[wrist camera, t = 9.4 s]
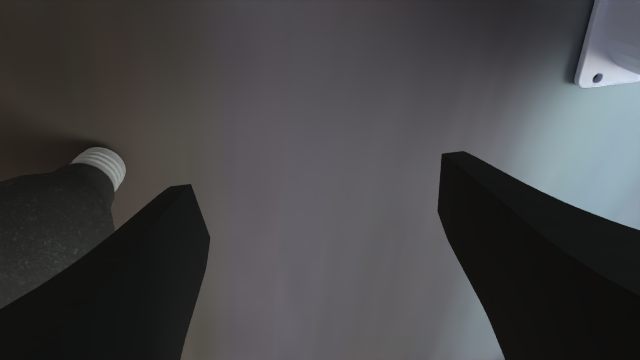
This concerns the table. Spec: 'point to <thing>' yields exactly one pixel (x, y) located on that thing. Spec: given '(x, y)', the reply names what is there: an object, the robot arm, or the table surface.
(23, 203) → the light bulb
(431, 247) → the table surface
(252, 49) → the table surface
